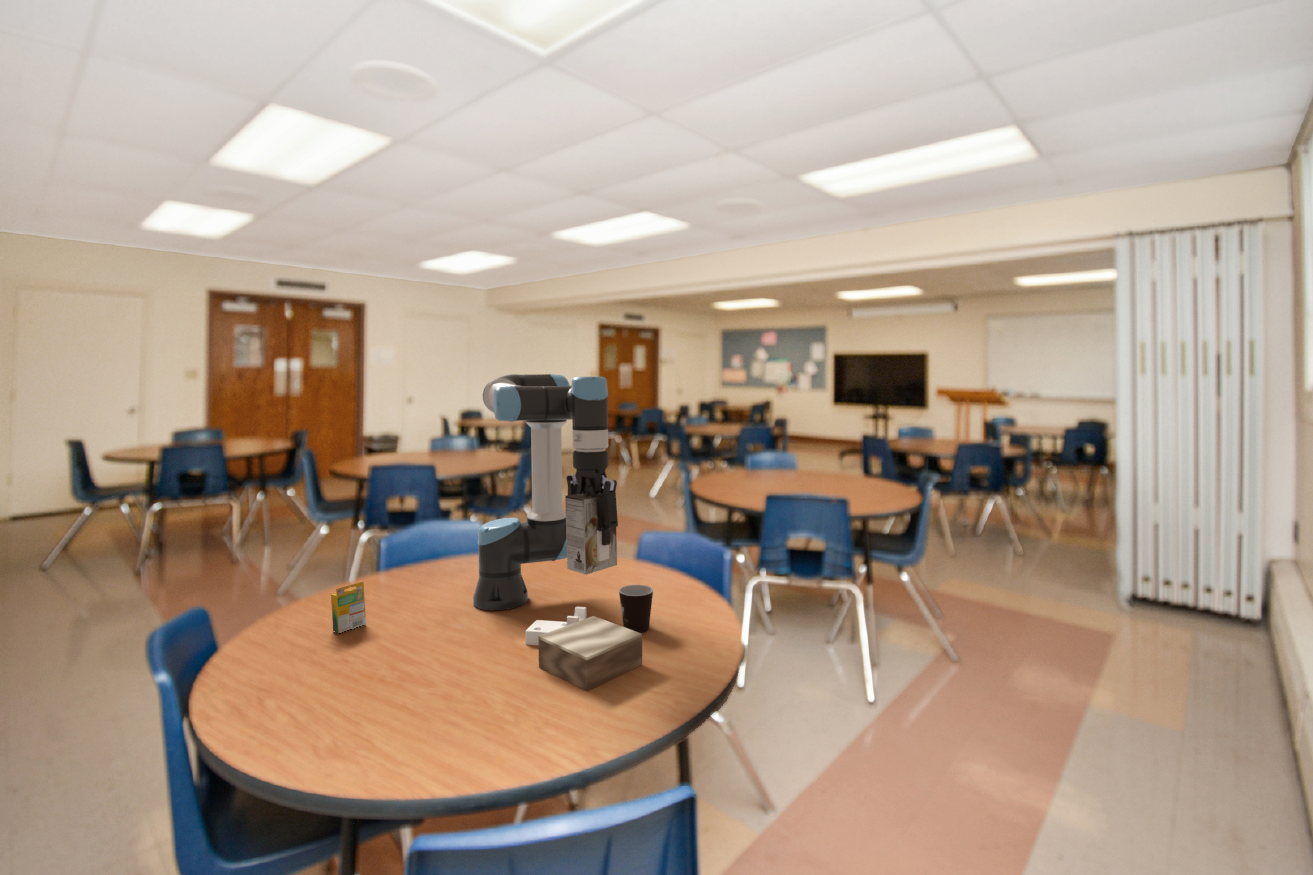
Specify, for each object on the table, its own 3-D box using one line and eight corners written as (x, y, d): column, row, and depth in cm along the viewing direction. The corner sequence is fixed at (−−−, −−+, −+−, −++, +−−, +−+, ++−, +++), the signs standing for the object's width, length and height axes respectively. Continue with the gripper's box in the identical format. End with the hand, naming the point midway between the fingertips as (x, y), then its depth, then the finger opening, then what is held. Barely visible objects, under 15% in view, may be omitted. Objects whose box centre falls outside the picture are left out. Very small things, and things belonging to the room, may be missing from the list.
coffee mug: (649, 636, 152) (649, 596, 151) (615, 633, 154) (615, 594, 153) (658, 619, 163) (658, 582, 162) (627, 616, 165) (626, 580, 164)
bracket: (586, 637, 152) (586, 607, 152) (577, 649, 146) (577, 617, 145) (536, 633, 155) (536, 604, 154) (525, 645, 148) (524, 614, 147)
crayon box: (360, 622, 162) (358, 579, 161) (366, 625, 160) (364, 581, 159) (332, 631, 156) (330, 586, 155) (338, 634, 154) (336, 589, 153)
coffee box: (598, 560, 139) (597, 489, 137) (617, 565, 134) (617, 492, 133) (565, 569, 132) (564, 494, 131) (585, 575, 128) (584, 498, 126)
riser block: (538, 667, 136) (538, 636, 135) (593, 644, 147) (593, 615, 147) (587, 690, 125) (586, 657, 124) (642, 664, 137) (641, 633, 136)
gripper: (548, 448, 135) (550, 551, 137) (608, 454, 122) (609, 569, 124) (574, 445, 140) (576, 545, 142) (635, 451, 127) (636, 561, 129)
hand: (592, 556), depth 133 cm, fingers closed on coffee box, 6 cm apart
